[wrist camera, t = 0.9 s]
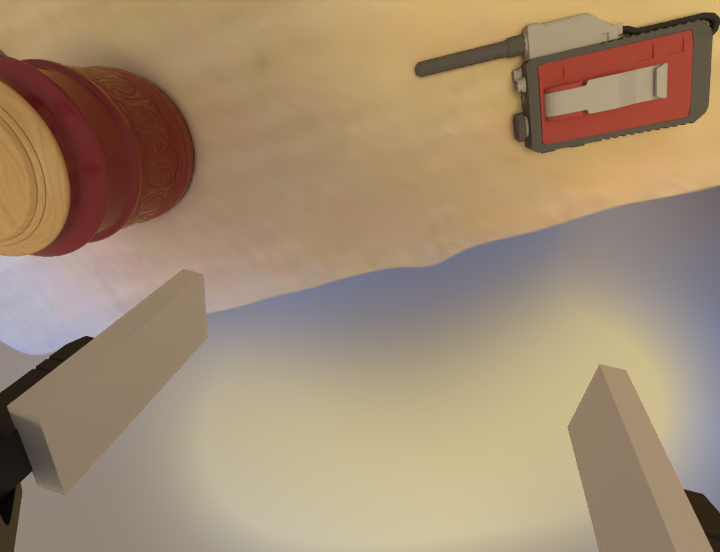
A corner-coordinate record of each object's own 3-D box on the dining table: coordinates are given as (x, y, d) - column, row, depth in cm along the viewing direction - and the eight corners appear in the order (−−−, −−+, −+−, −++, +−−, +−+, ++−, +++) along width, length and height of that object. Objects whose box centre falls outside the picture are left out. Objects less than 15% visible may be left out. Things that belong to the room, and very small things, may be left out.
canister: (44, 77, 38) (-242, 58, 22) (177, 59, 36) (-32, 22, 20) (91, 221, 43) (-117, 292, 27) (212, 213, 40) (65, 285, 24)
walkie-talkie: (708, -17, 29) (413, 56, 33) (753, -37, 25) (410, 50, 29) (701, 119, 32) (430, 170, 36) (740, 121, 28) (430, 179, 32)
